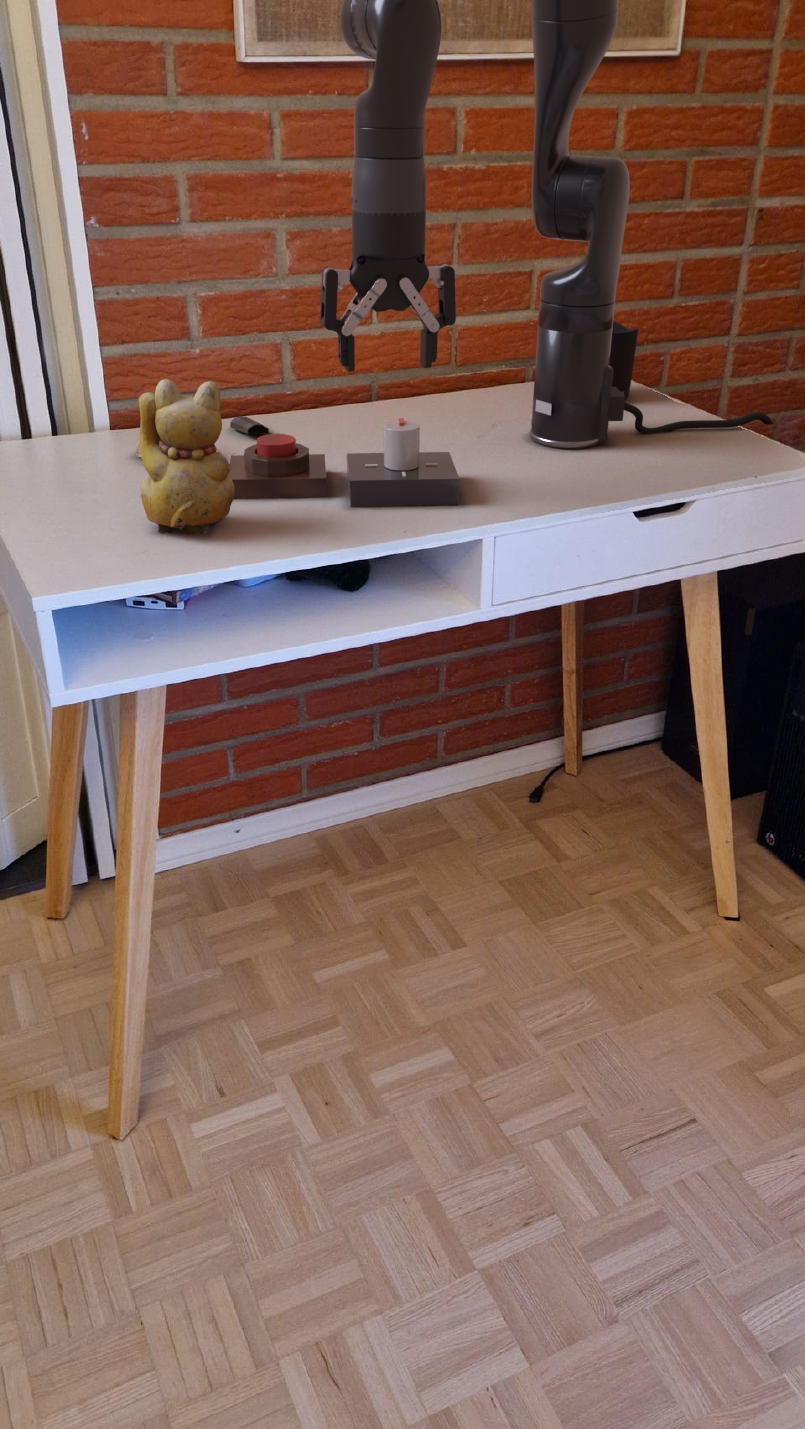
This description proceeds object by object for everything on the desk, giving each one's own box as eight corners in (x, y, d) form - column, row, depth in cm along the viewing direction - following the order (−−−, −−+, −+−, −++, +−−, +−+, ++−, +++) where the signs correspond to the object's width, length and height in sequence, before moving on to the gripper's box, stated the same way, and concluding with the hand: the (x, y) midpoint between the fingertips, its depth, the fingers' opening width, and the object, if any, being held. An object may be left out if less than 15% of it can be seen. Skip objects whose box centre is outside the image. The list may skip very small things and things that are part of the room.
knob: (420, 470, 131) (420, 428, 129) (384, 470, 131) (384, 428, 129) (418, 459, 135) (418, 418, 132) (383, 460, 135) (383, 418, 132)
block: (247, 440, 151) (246, 426, 150) (227, 429, 156) (226, 415, 155) (272, 436, 153) (272, 422, 152) (252, 425, 157) (251, 411, 157)
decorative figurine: (236, 513, 128) (228, 372, 120) (236, 540, 121) (227, 392, 113) (146, 515, 127) (131, 374, 119) (140, 543, 119) (124, 395, 112)
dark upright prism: (564, 403, 168) (570, 331, 164) (567, 387, 177) (572, 318, 172) (631, 407, 167) (638, 334, 162) (631, 390, 175) (638, 321, 170)
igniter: (325, 472, 140) (324, 439, 138) (326, 497, 132) (326, 462, 130) (231, 473, 139) (229, 440, 138) (228, 498, 132) (225, 463, 130)
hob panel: (448, 476, 139) (449, 450, 138) (458, 505, 130) (459, 477, 129) (346, 478, 138) (346, 452, 137) (350, 507, 130) (349, 479, 128)
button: (296, 448, 136) (295, 433, 135) (296, 460, 132) (295, 444, 132) (257, 449, 136) (257, 434, 135) (256, 460, 132) (255, 445, 131)
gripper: (327, 211, 115) (330, 380, 123) (467, 209, 118) (461, 373, 126) (312, 203, 121) (316, 364, 129) (445, 201, 124) (441, 358, 132)
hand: (388, 368), depth 127 cm, fingers open, 8 cm apart
